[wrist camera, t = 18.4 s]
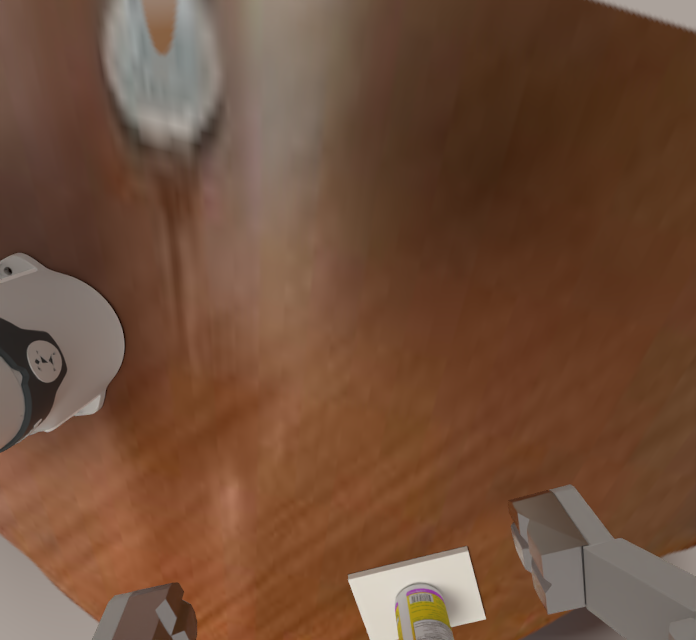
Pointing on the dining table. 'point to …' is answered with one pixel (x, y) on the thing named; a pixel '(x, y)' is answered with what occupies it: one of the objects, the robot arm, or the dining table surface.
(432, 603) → the supplement bottle
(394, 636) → the off-white mat
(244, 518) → the dining table surface
